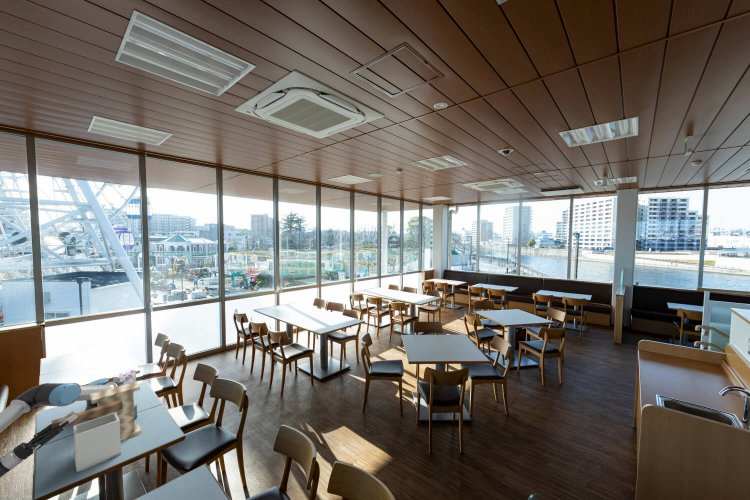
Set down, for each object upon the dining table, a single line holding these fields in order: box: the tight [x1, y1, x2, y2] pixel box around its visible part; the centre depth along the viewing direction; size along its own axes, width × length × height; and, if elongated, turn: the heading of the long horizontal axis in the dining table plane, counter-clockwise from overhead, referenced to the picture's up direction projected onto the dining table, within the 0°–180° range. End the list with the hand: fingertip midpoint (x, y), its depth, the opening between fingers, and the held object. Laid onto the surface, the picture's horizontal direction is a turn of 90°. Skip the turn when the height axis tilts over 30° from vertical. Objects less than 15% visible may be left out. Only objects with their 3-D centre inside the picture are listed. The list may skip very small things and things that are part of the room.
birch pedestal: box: [90, 381, 142, 442], centre depth 186 cm, size 22×10×30 cm, turn 138°
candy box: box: [112, 369, 137, 383], centre depth 239 cm, size 14×6×16 cm, turn 168°
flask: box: [134, 403, 138, 422], centre depth 205 cm, size 9×3×11 cm, turn 8°
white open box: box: [72, 412, 122, 473], centre depth 170 cm, size 18×12×20 cm, turn 138°
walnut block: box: [51, 400, 123, 430], centre depth 167 cm, size 28×4×4 cm, turn 138°
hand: (75, 413), depth 163 cm, fingers closed on walnut block, 4 cm apart
